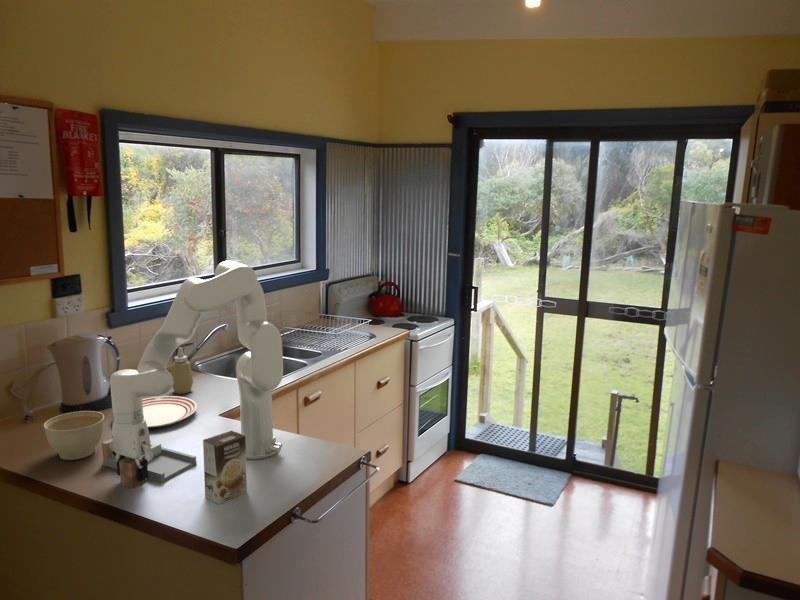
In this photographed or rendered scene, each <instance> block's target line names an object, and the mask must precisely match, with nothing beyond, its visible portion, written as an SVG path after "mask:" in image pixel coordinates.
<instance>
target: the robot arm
mask: <svg viewBox="0 0 800 600" xmlns="http://www.w3.org/2000/svg"><path fill="white" fill-rule="evenodd" d="M234 302H235V307H236V320H237V321H236V322H237V337H238V341H239V343H240V344H241V345H242V346H244V347H245V348H247V349H248V350H249V351H246V352H244V353H243V354H241V356H239V357H238V360H237V362H236V365H235V366H236V367H235V372H236V379H237V384H238V390H239V411H240V413H239V415H240V434H242V435H244V436H245V441H246V460H260V459H267V458H270V457H272V456H274V455H275V454H279V453H280V452H281V451H282V447H283V443H281V442H277V437H276V436H274V429H273V428H274V426H273V394H272V391H274V390H275V389H277V388H278V386H280V384H281V382H282V380H283V376H284V358H283V356H284V355H283V341H282V336H281V332H280V331H279V329H278V328H277V327H276V325H274V324H273V323H271V322H269V321H268V315H267V306H266V305H267V304H266V298H265V293H264V289H263V288H262V285H261V283H260V282H259V280H258V275H257V273H256V271H255V270H254V269H253V268H252V267H250V266H249V265H246V264H243V263H241V262H237V261H235V260H225V261H222V262H220V263H218V264H217V266H216V268H215V271H214V277H212V278H209V279H206V280H204V279H202V278H196V277H191V278H188V279H185V280H184V281H183V282H182V284H181V285H180V287H179V289H178V291H177V293H176V295H175V297H174V300H173V302H172V303H171V305H170V308H169V310H168V313H167V315H166V316H165V318H164V321H163V323H162V325H161V327H160V328H159V329H158V330H157V331H156V333H155V334H154V335H153V337H152V338H151V339H150V341H148V344H147V345H146V347H145V349H144V351H143V354H142V356H141V358H140V360H139V362H138V364H137V367H136V369H134V368H133V369H131V368H129V369H127V368H125V369H120V370H117V371H114V372H113V373H111V375H110V377H109V381H110V382H109V383H110V396H111V398H110V399H111V408H112V424H111V425H112V426H111V428H112V429H111V439H112V442H111V443H110V444H109V447H110V448H111V450H112V453H113V455H114V456H115V461H116V462H117V469H116V471H117V476H119V477H120V467H119V461H120V460H122V459H124V458H126V456H127V457H130V458H134V459H135V461H136V463H137V466H138V468H136V472H137V481H138V482H141V481H142V480H144V479H146V480H147V478H148V467H147V465H148V464H149V462H150V461H151V459H152V458H153V457H154V455H153V453H152V452H151V445H150V441H151V439H150V432H149V428H148V427H147V423H146V420H144V415H143V401H142V399H143V397H161V396H165V395H166V394H168V393H169V392H170V391H171V390H172V389H173V383H174V381H173V377H172V373H171V372H169V371H168V370H167V369H166V368H167V365H168V363H169V361H170V358H171V357H172V355H173V354H174V352H175V351H176V350H177V348H179V346H180V345H183V344H184V343H187V342H188V341H190V340H191V339H192V338H193V336H194V334H195V332H196V331H197V327H198V325H199V323H200V320H201V318H202V316H203V314H206V313H210V312H214V311H216V310H218V309H221V308H223V307H225V306H227V305H229V304H231V303H234ZM140 453H141V455H140ZM141 457H142V459H143V461H142V462H141V461H140V459H139V458H141Z"/></svg>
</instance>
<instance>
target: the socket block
mask: <svg viewBox="0 0 800 600" xmlns="http://www.w3.org/2000/svg"><path fill="white" fill-rule="evenodd" d="M150 445H151V452H152V453H153V455H154V457H156V456H158V455H160V454H162V452H161V447H162V443H160V442H159V443H158V442H155V441H151V440H150ZM140 455H141V453H140ZM112 457H113V458H115V456H114V455H113V453H112ZM126 457H127V456H126ZM154 457H153V458H154Z"/></svg>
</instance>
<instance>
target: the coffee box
mask: <svg viewBox="0 0 800 600" xmlns="http://www.w3.org/2000/svg"><path fill="white" fill-rule="evenodd" d="M202 444H203V445H202V447H203V471H204V472H203V474H204V497H205V498H206V499H209V500H210V501H212V502H214V503H215V504H218V505H219V504H220V505H221V504H222V503H224V502H227V501H229V500H231V499H234V498H236V497H238V496H240V495H242V494H245V493H247V492H248V487H247V486H248V484H247V482H248V481H247V459H246V441H245V436H244V435H242V434H241V432H240V433H239V432H236V431H233V430H230V431H226V432H223V433H221V434H217V435H214V436H211V437H208V438H204V439H203V440H202Z"/></svg>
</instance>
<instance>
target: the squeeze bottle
mask: <svg viewBox="0 0 800 600" xmlns="http://www.w3.org/2000/svg"><path fill="white" fill-rule="evenodd" d="M171 368H172V369H171V375H172V377H173V381H174V383H173V387H172V389H173V391H174V393H175V394H177V395H179V394H180V395H182V394H188V393H191V390H192V387H193V384H194V380H193V373H192V367H191V363H190V361H189V360H188V356H187V355H185V353H184V351H183V347H178V349H177V356H174V362H173V363H172V365H171Z"/></svg>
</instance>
